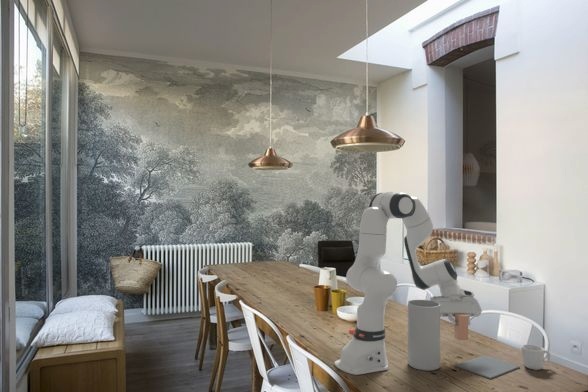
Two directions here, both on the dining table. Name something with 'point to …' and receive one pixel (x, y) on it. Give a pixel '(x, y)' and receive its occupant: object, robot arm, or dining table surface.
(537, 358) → the cup
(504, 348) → the dining table surface
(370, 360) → the robot arm
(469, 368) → the charcoal mat
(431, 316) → the cylinder vase
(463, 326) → the terracotta block
